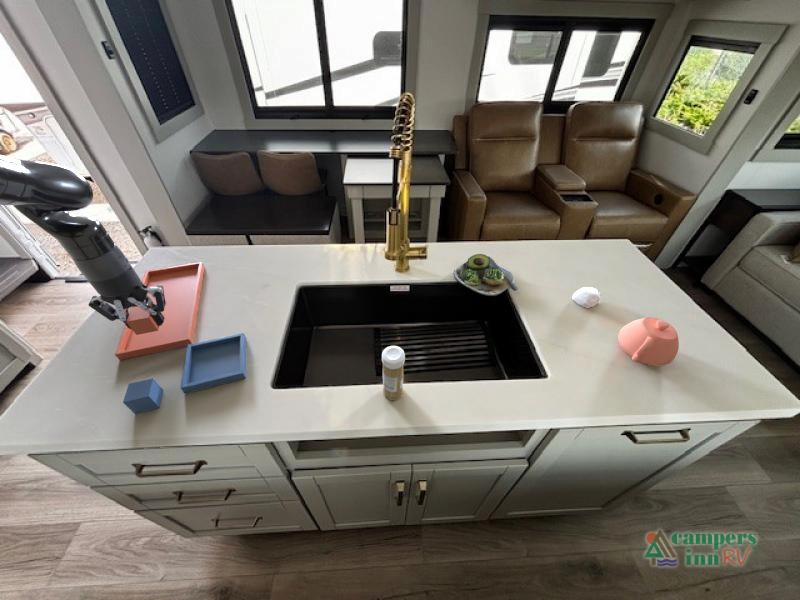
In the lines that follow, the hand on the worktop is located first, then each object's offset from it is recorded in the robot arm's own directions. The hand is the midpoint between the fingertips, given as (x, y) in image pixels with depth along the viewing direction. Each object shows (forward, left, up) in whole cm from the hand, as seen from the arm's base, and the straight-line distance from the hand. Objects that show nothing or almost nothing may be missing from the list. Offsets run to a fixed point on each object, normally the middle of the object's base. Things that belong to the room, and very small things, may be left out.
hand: (148, 325), depth 77 cm
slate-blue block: (+1, -18, -6) cm, 19 cm away
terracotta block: (0, 0, 0) cm, 0 cm away
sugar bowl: (+114, -41, -6) cm, 121 cm away
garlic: (+115, -21, -6) cm, 117 cm away
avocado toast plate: (+91, -2, -6) cm, 91 cm away
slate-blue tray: (+14, -12, -6) cm, 19 cm away
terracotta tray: (0, +13, -6) cm, 14 cm away
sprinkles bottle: (+51, -32, -6) cm, 60 cm away
